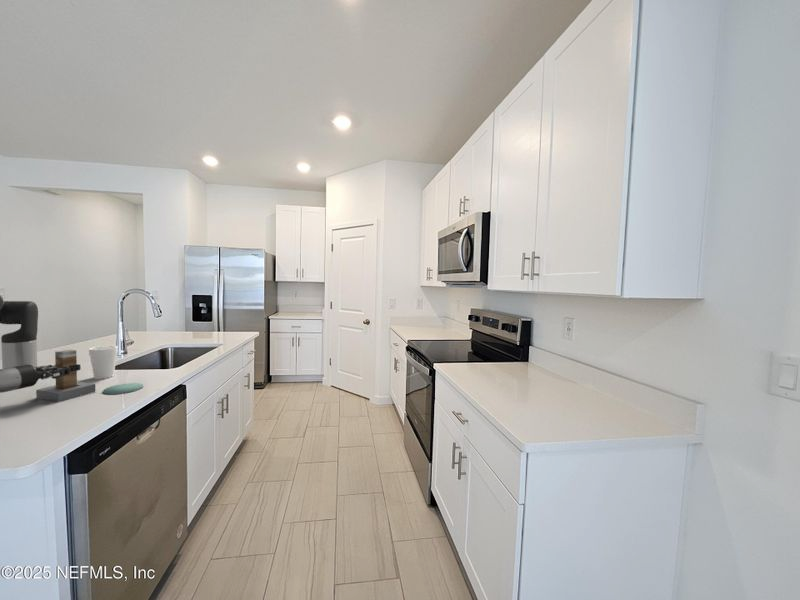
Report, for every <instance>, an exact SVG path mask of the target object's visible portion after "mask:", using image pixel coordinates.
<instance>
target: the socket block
mask: <svg viewBox="0 0 800 600" xmlns="http://www.w3.org/2000/svg"><path fill="white" fill-rule="evenodd" d="M95 391H96V383H90V382H84V381H78V380H77V386H76V387H72V388H68V389H64V390H62V389H56V384H55V385H51V386H47V387H42V388H39V389H36V391H35V393H36V394H35V396H36V399H39V398H41V399H40V400H45V399H46V400H47V401H52V402H59V401H60V402H62V401H66V400H71V399H73V398H78V397H81V396H85V395H89V394H92V393H96V392H95ZM91 392H92V393H91ZM88 393H89V394H88ZM84 394H85V395H84ZM80 395H81V396H80ZM77 396H78V397H77ZM60 402H59V403H60Z"/></svg>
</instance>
